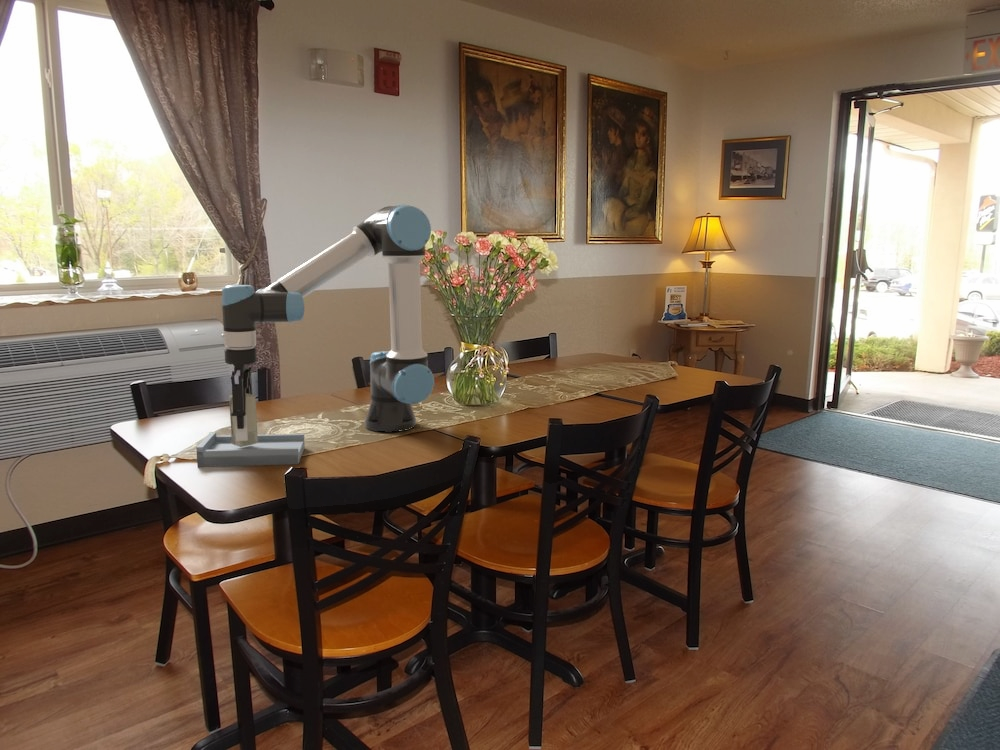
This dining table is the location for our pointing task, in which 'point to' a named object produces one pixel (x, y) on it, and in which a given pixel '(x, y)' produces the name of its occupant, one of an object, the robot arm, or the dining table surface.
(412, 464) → the dining table surface
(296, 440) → the blue-grey tray
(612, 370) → the dining table surface
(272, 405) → the dining table surface
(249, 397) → the box
